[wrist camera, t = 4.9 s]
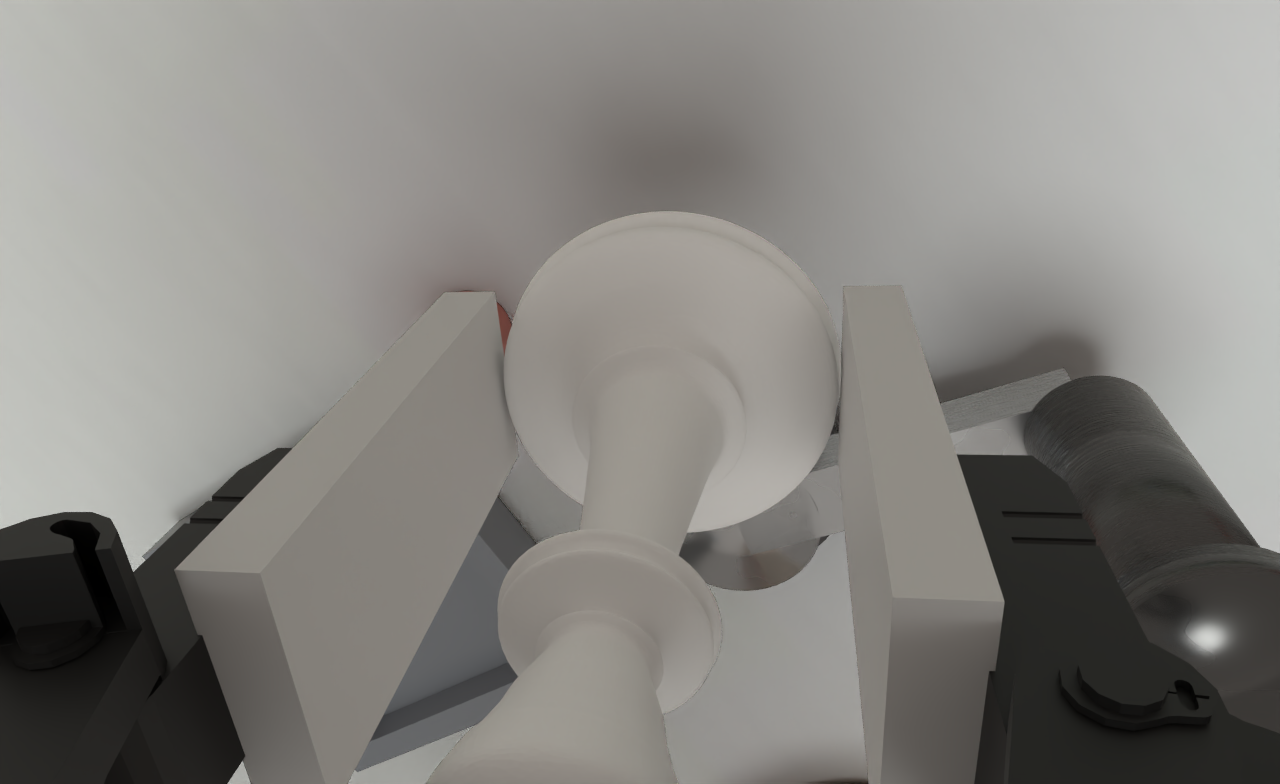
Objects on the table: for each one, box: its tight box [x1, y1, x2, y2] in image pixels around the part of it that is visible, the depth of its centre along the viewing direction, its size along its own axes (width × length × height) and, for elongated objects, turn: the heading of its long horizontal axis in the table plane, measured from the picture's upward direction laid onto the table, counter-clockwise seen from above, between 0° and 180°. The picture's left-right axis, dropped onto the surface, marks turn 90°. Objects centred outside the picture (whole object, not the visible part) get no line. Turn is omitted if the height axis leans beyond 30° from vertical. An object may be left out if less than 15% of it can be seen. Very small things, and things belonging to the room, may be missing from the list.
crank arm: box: [679, 368, 1280, 733], centre depth 20 cm, size 13×4×9 cm, turn 114°
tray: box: [142, 497, 536, 772], centre depth 30 cm, size 11×11×2 cm
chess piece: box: [426, 211, 841, 784], centre depth 9 cm, size 5×5×10 cm
